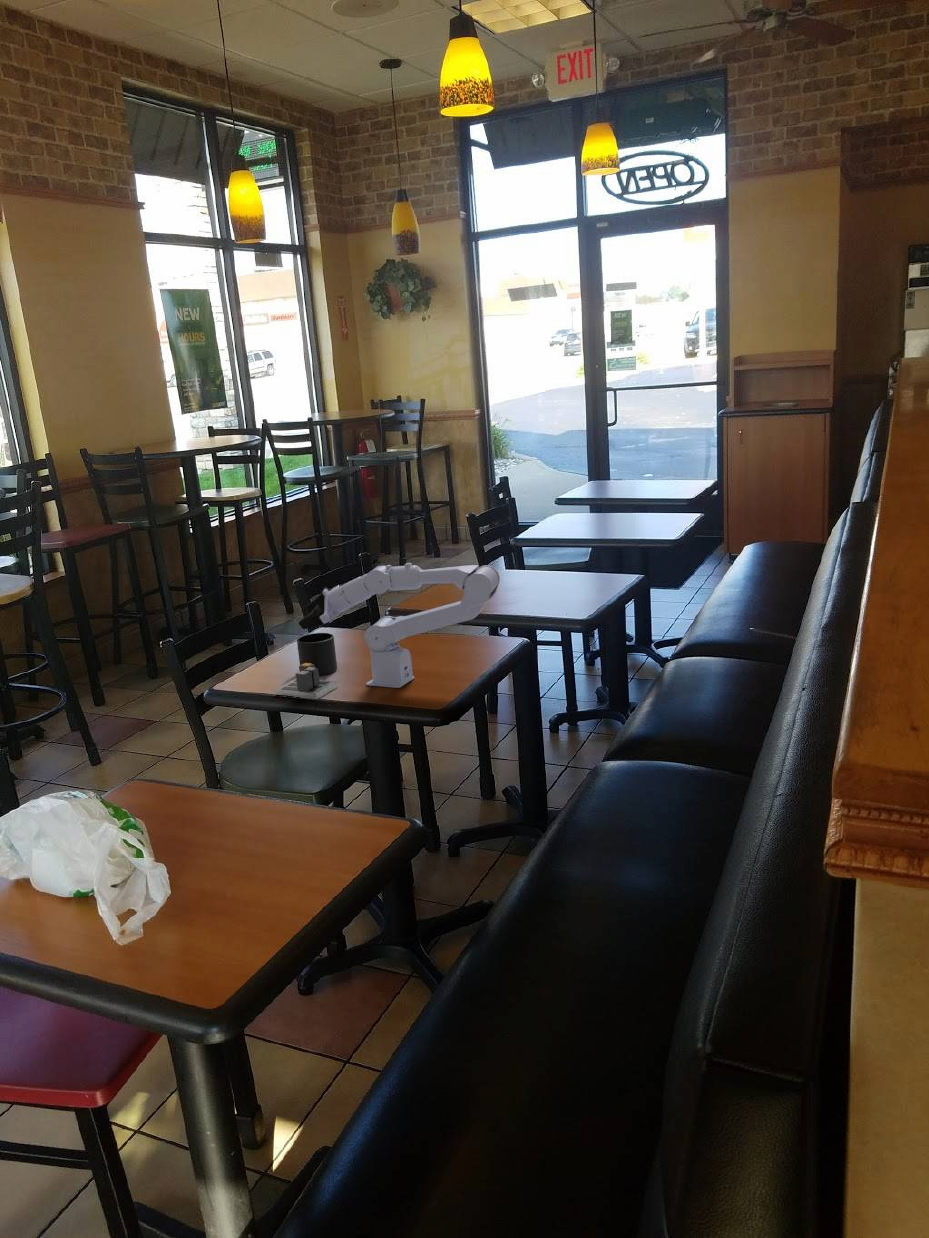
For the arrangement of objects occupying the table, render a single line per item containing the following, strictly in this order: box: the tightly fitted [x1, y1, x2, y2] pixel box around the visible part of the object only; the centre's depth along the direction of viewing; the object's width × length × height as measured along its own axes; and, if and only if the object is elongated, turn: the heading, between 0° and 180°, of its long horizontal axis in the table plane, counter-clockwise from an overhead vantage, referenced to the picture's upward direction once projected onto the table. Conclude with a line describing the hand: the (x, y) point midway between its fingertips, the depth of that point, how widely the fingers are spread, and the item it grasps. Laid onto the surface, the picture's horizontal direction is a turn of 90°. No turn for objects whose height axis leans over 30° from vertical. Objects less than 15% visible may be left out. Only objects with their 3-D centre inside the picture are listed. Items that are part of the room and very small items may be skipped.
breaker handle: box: [298, 663, 315, 672], centre depth 235 cm, size 3×2×4 cm
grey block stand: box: [274, 667, 338, 700], centre depth 232 cm, size 12×9×6 cm
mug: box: [296, 632, 338, 677], centre depth 249 cm, size 9×12×9 cm
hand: (304, 617), depth 237 cm, fingers open, 7 cm apart
